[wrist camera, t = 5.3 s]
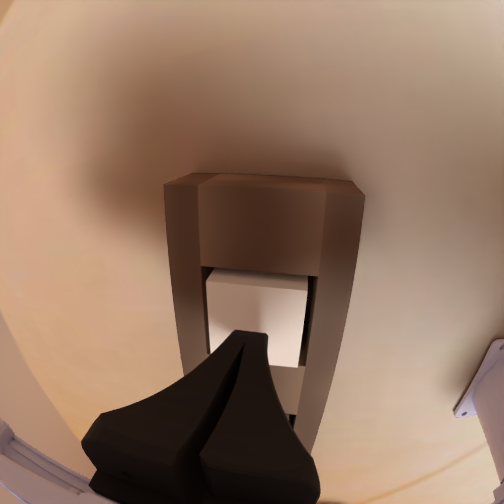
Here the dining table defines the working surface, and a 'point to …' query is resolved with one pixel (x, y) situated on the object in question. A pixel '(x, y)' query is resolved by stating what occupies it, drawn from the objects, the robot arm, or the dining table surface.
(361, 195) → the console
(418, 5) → the dining table surface
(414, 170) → the dining table surface
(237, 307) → the beige cube
